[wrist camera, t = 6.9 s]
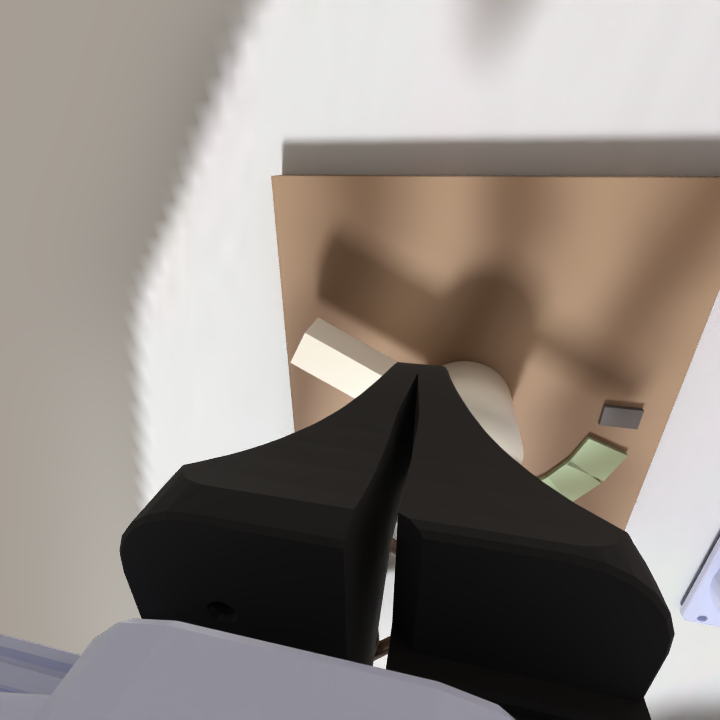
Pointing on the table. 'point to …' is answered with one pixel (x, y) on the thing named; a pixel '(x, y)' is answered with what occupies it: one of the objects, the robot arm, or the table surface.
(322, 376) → the peg
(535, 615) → the robot arm
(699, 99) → the table surface
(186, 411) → the table surface
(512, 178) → the board
